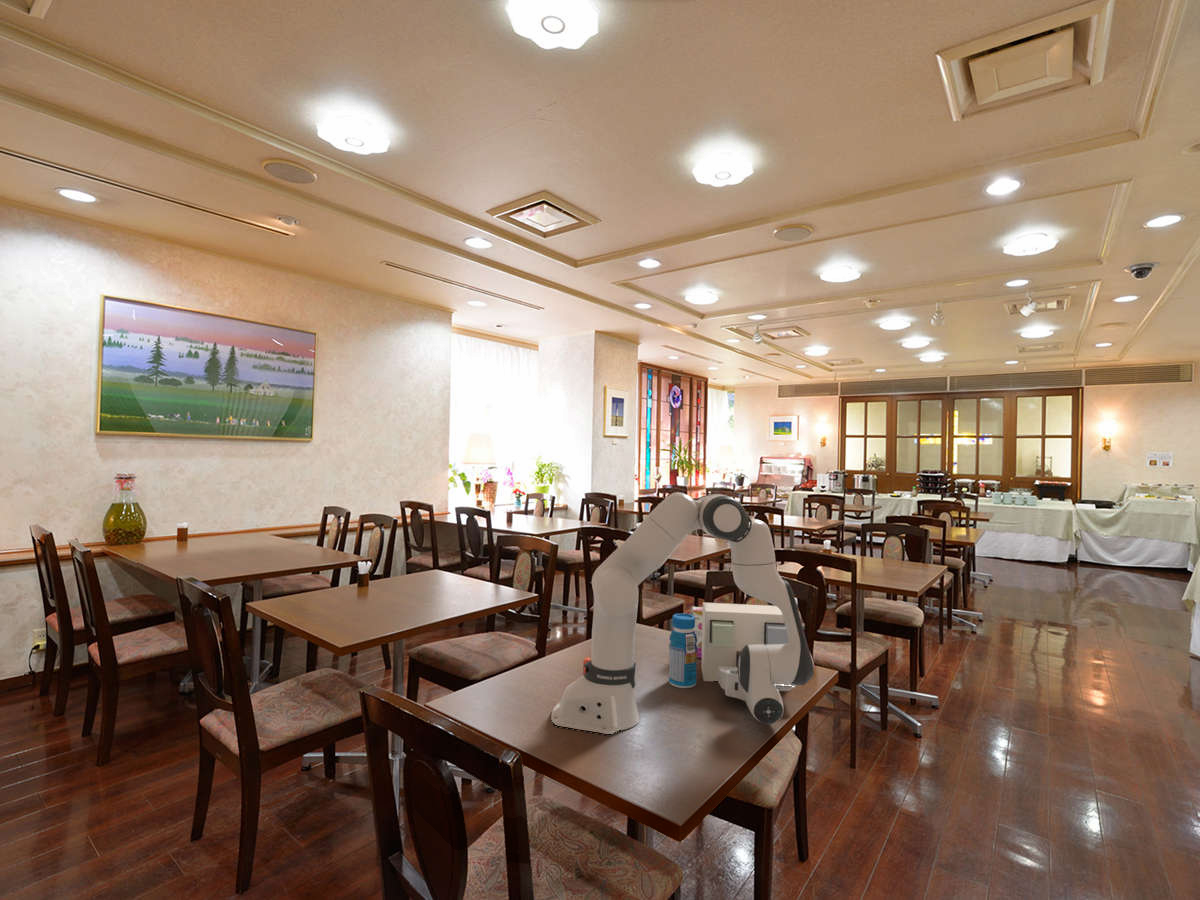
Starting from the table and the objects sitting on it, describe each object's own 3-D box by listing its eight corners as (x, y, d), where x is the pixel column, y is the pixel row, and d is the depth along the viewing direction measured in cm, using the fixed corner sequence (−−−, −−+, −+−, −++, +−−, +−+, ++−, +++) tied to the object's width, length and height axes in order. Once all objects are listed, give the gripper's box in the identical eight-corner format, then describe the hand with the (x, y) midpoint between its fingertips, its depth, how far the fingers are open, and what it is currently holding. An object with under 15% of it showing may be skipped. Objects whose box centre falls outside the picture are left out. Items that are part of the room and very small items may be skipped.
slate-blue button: (768, 648, 170) (768, 628, 170) (764, 642, 176) (764, 622, 176) (789, 649, 169) (789, 629, 169) (784, 643, 175) (785, 623, 175)
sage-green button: (712, 645, 172) (712, 625, 172) (710, 639, 178) (711, 619, 178) (733, 646, 171) (733, 626, 171) (730, 640, 177) (731, 620, 177)
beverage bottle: (666, 687, 170) (667, 618, 170) (670, 676, 179) (671, 611, 179) (695, 690, 168) (697, 621, 168) (697, 679, 176) (699, 613, 177)
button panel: (703, 680, 176) (705, 611, 176) (701, 668, 186) (702, 602, 186) (792, 686, 173) (793, 615, 173) (785, 673, 183) (786, 606, 184)
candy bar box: (690, 659, 194) (691, 609, 195) (689, 654, 199) (690, 606, 200) (724, 661, 193) (725, 611, 193) (722, 655, 198) (723, 607, 198)
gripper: (797, 676, 156) (786, 658, 170) (720, 672, 158) (715, 654, 172) (797, 700, 156) (786, 680, 170) (719, 695, 158) (715, 676, 172)
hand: (750, 667), depth 171 cm, fingers closed, pressing on terracotta button
